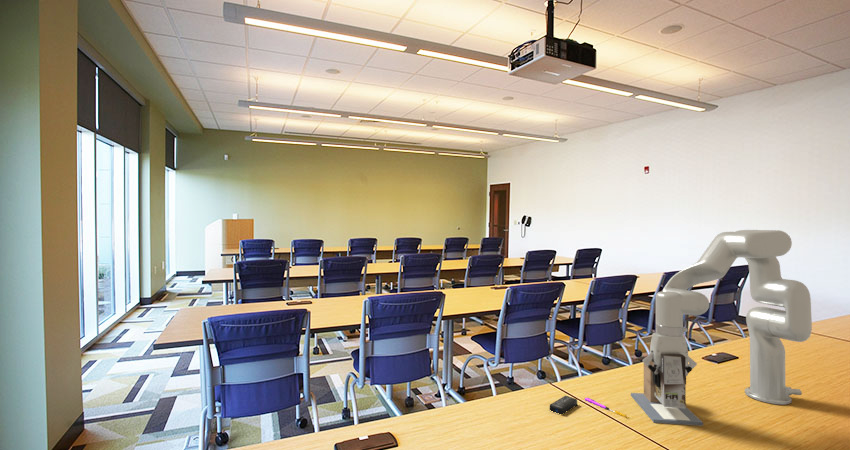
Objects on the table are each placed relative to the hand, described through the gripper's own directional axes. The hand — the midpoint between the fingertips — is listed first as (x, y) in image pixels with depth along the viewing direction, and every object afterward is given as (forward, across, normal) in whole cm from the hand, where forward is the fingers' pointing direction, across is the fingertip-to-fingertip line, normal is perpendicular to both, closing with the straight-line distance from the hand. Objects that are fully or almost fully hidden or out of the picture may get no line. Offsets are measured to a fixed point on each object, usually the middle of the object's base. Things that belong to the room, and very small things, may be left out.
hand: (669, 385), depth 130 cm
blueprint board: (+9, 0, -4) cm, 10 cm away
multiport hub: (+10, +33, -1) cm, 34 cm away
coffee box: (+5, 0, 0) cm, 5 cm away
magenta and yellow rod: (+10, +18, -3) cm, 21 cm away
